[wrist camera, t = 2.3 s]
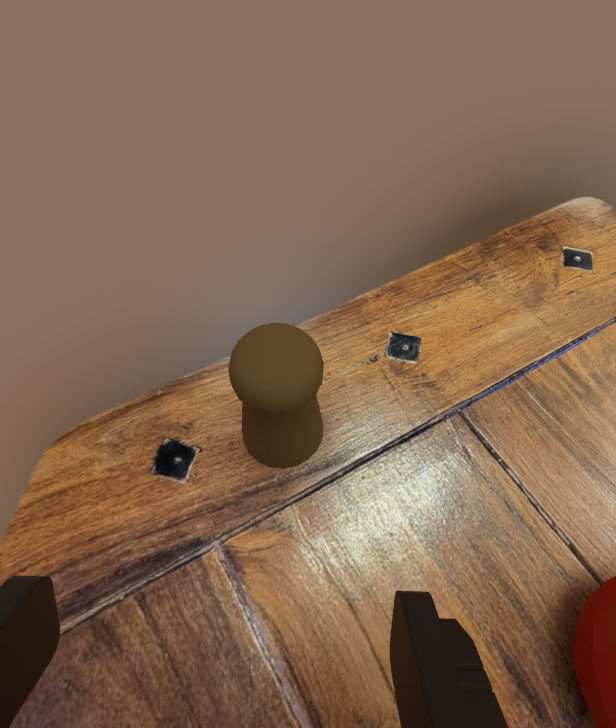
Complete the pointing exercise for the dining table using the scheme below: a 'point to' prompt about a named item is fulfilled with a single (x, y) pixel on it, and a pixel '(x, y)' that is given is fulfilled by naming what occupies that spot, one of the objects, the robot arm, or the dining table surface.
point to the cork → (278, 393)
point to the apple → (598, 653)
